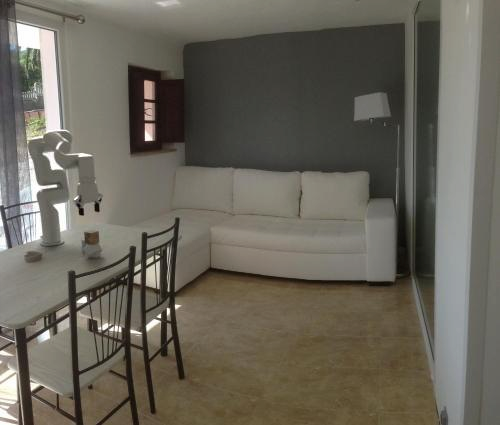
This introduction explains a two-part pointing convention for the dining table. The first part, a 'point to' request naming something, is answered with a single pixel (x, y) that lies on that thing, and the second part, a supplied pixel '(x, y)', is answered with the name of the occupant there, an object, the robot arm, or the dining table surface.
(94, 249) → the die
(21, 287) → the dining table surface
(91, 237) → the walnut block
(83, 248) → the grey block
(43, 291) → the dining table surface
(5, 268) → the dining table surface
